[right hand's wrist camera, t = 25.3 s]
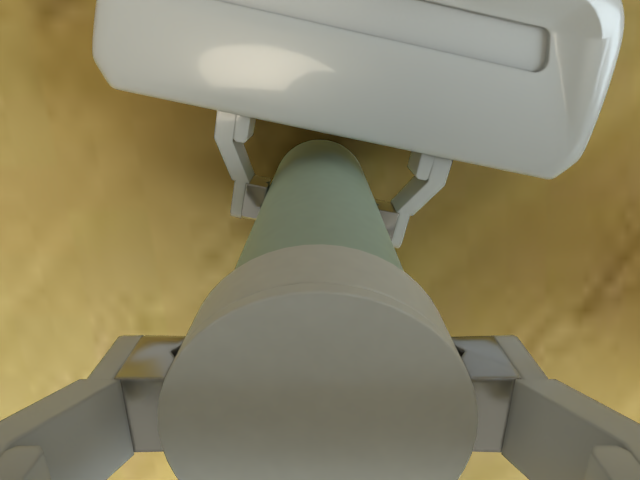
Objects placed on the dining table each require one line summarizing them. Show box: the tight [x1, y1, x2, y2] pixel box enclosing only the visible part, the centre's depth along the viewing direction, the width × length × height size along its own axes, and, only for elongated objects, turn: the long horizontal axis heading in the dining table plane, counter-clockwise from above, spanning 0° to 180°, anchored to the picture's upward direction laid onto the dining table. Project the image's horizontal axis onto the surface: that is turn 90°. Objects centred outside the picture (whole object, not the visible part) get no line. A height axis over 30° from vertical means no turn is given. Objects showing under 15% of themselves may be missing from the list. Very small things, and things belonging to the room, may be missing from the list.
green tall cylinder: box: [235, 139, 403, 271], centre depth 18 cm, size 5×5×18 cm
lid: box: [158, 244, 478, 480], centre depth 9 cm, size 6×6×2 cm
